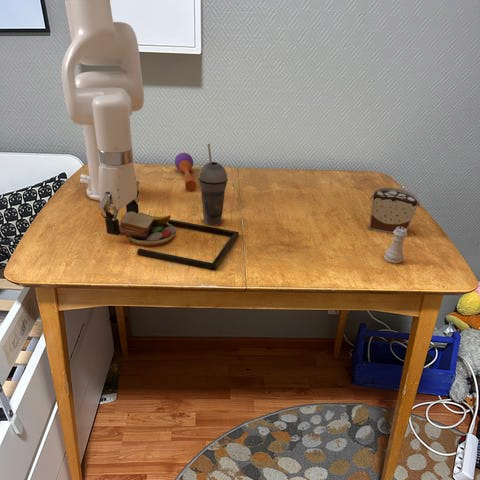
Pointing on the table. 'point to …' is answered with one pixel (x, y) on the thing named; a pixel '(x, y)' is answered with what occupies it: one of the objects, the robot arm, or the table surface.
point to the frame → (193, 262)
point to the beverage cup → (212, 190)
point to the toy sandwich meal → (146, 228)
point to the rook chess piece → (396, 246)
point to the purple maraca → (186, 169)
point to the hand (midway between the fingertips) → (123, 225)
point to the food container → (392, 209)
